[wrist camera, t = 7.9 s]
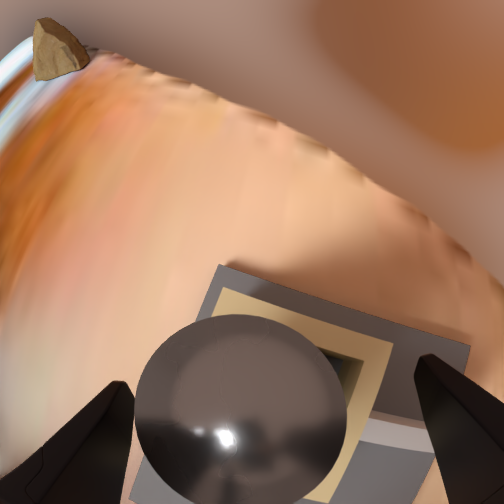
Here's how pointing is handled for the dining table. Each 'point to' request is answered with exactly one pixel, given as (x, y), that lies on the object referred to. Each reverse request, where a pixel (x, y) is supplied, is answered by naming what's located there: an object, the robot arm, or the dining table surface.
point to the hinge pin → (240, 412)
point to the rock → (56, 50)
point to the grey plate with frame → (354, 387)
